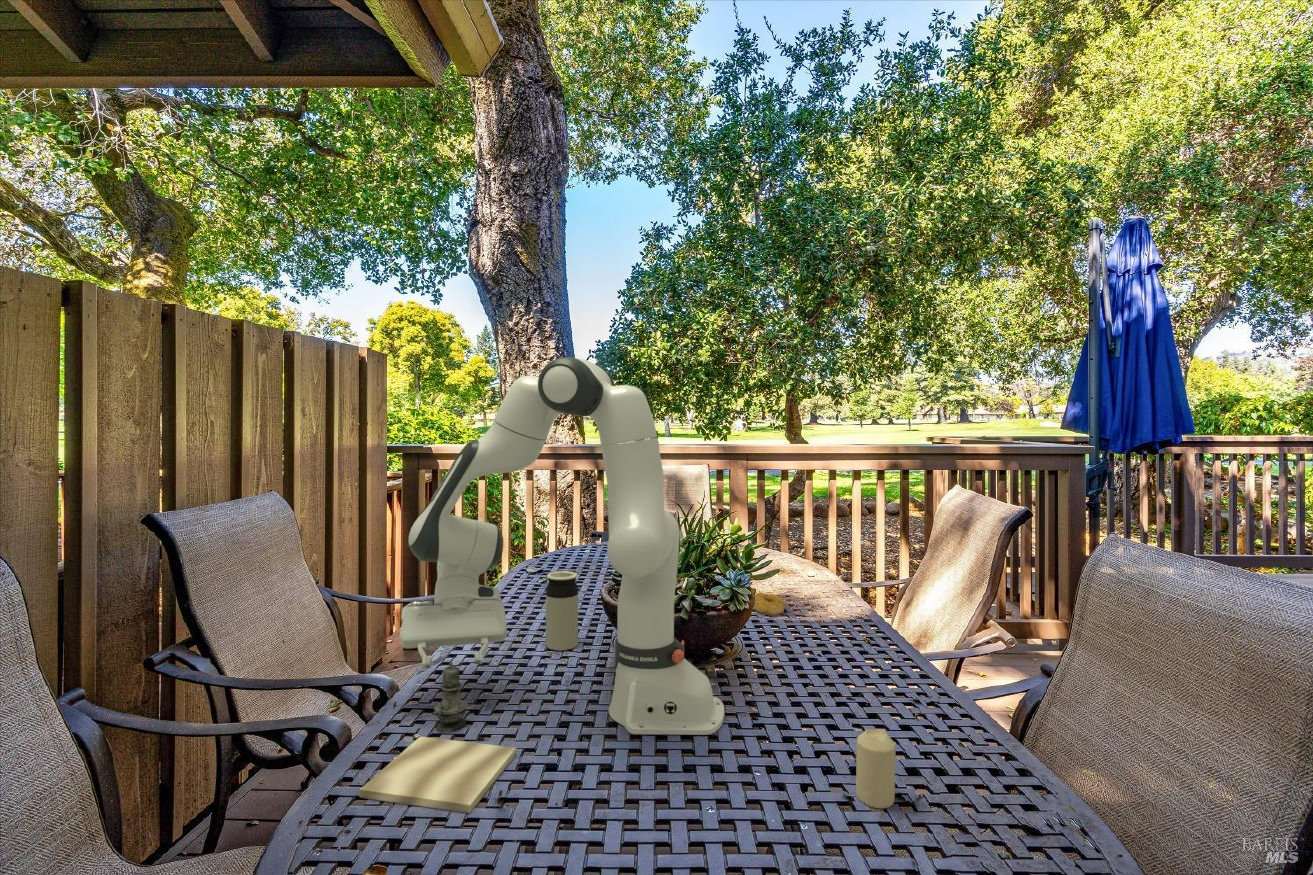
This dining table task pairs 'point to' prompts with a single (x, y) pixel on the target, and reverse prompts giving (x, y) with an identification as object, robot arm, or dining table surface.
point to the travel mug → (561, 611)
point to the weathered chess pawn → (451, 702)
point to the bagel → (769, 604)
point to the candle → (875, 769)
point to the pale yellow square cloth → (440, 774)
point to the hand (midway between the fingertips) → (452, 664)
